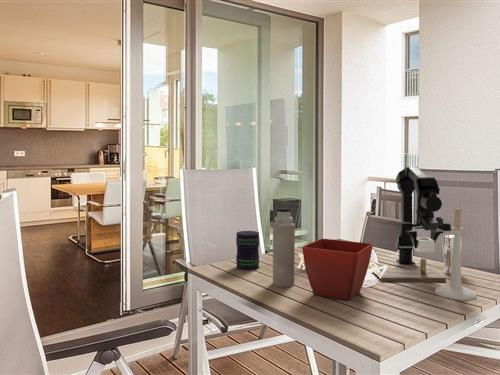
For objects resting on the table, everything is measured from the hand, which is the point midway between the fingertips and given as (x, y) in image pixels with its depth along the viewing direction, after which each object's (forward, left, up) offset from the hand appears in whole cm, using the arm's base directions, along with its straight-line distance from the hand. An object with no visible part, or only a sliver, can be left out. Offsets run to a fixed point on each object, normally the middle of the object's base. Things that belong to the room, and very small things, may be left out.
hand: (423, 248), depth 171 cm
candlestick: (+22, +3, -12) cm, 25 cm away
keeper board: (0, -6, -11) cm, 13 cm away
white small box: (0, 0, -1) cm, 1 cm away
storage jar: (-13, -69, -12) cm, 71 cm away
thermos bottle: (+11, -55, -12) cm, 57 cm away
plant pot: (+22, -37, -12) cm, 45 cm away
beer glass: (-7, +14, -12) cm, 19 cm away
